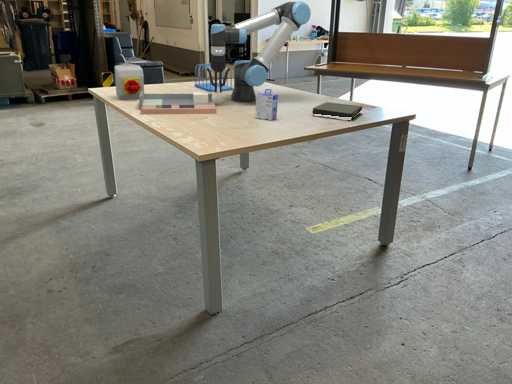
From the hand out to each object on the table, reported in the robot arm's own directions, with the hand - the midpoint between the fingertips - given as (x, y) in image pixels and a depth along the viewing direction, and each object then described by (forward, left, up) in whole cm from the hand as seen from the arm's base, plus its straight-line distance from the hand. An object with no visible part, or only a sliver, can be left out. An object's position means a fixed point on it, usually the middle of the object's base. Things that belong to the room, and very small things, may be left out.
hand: (218, 98), depth 242 cm
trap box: (+22, +6, -4) cm, 23 cm away
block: (+10, 0, -2) cm, 10 cm away
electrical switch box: (+49, -22, -4) cm, 54 cm away
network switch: (-61, +27, -5) cm, 67 cm away
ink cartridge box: (-21, +33, -4) cm, 39 cm away
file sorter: (-2, -60, -5) cm, 61 cm away
